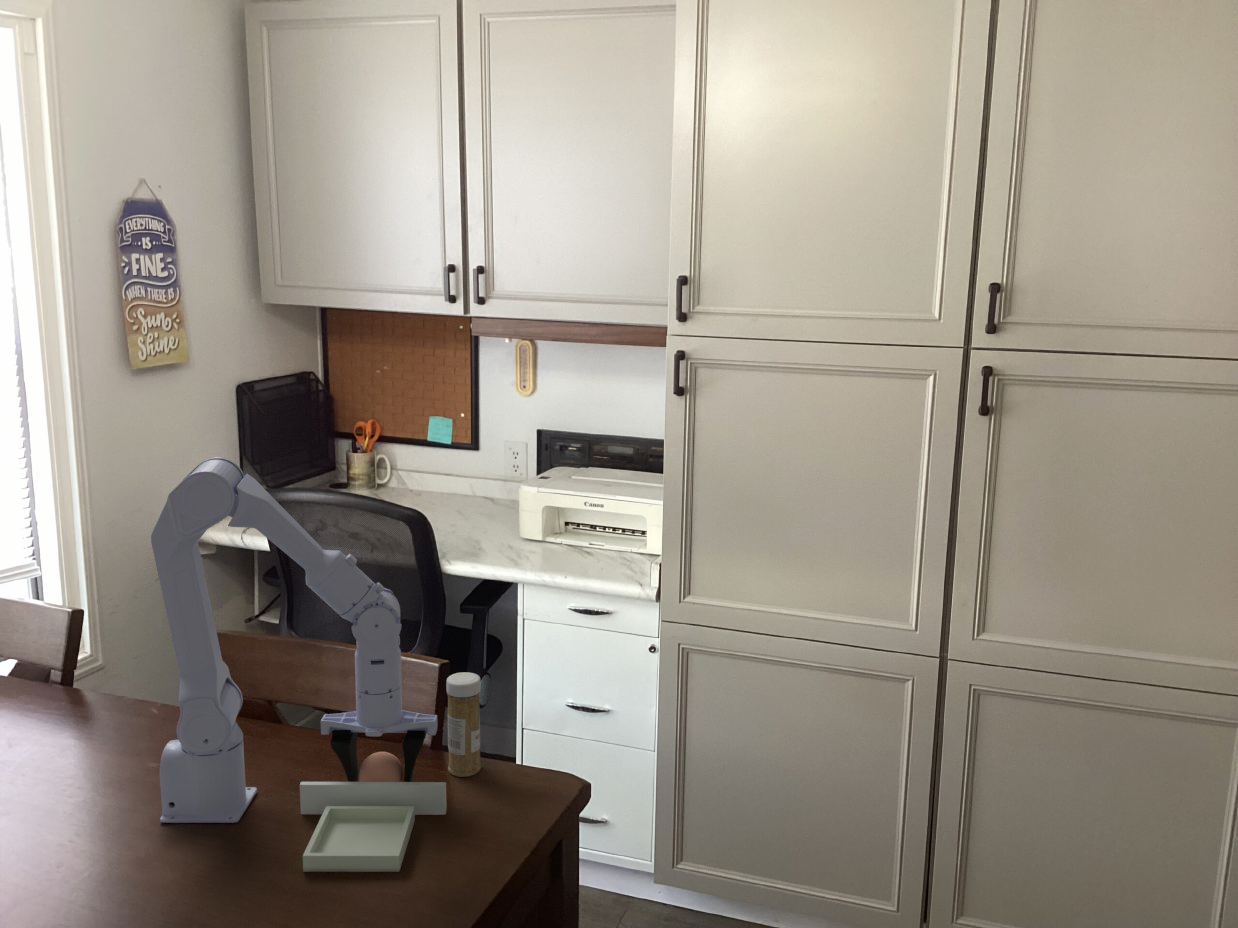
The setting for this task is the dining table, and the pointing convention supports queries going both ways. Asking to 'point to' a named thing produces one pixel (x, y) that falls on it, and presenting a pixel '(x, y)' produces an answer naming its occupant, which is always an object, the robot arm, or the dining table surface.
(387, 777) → the ball
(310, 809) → the acrylic wall
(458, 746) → the spice bottle
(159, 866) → the dining table surface
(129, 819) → the dining table surface
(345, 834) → the tray
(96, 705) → the dining table surface
